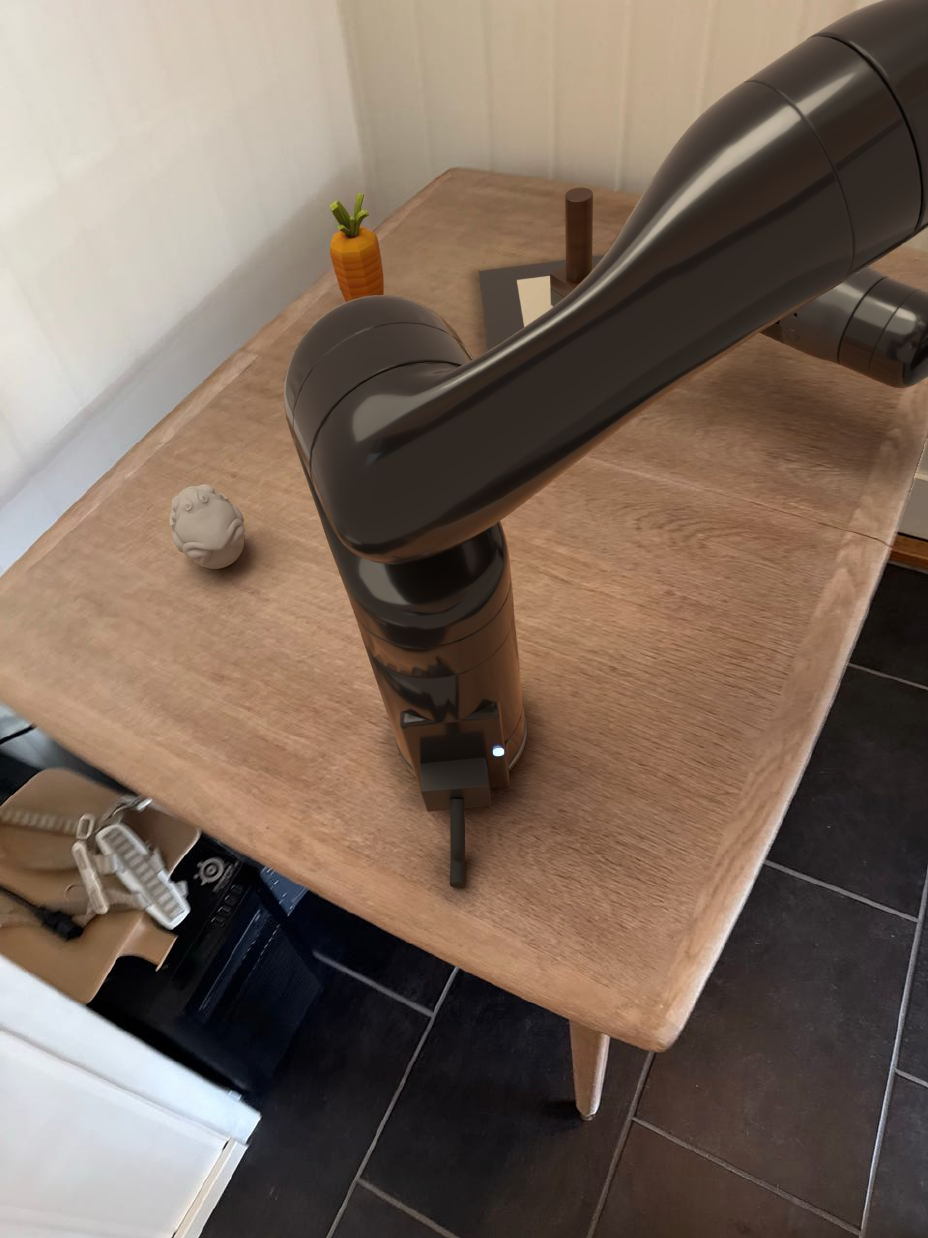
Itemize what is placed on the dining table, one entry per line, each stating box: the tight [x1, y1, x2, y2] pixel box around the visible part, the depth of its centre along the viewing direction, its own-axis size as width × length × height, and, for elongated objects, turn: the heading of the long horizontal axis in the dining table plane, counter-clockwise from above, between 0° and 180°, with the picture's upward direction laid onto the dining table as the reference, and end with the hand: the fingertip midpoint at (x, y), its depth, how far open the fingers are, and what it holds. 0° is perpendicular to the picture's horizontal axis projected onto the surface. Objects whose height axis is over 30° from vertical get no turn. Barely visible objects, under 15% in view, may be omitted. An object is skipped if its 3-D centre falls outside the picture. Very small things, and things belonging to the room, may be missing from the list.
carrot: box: [329, 192, 385, 302], centre depth 88 cm, size 5×5×15 cm
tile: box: [478, 254, 605, 351], centre depth 91 cm, size 22×18×1 cm
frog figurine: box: [169, 483, 246, 570], centre depth 74 cm, size 6×7×7 cm
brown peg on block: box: [550, 187, 594, 306], centre depth 86 cm, size 5×4×12 cm
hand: (654, 236), depth 78 cm, fingers open, 8 cm apart
